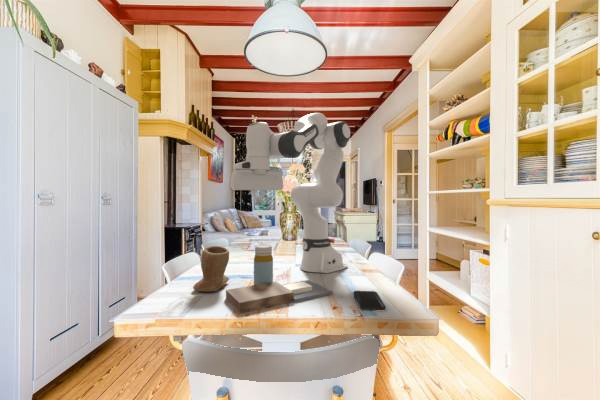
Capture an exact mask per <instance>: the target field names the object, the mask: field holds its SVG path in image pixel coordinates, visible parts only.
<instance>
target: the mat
mask: <svg viewBox="0 0 600 400" xmlns="http://www.w3.org/2000/svg"><path fill="white" fill-rule="evenodd" d="M298 282H299V281H295V282H294V283H298ZM300 282H305V283H307V284H309V285H311V286H312V291H307V292H302V293H297V294H294V301H293V302H294V303H298V302H303V301H308V300H312V299H317V298H323V297H325V296H330V295H333V294H334V291H333V290H331V289H329V288H327V287H326V286H325V287H324V286H323V285H320V284H319V283H316V282H314V281H312V280H310V279H307V280H303V281H302V280H301V281H300ZM292 283H293V282H291V283H290V282H289V284H292ZM287 284H288V283H284V284H283V285H287Z"/></svg>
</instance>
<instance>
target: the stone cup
mask: <svg viewBox="0 0 600 400" xmlns="http://www.w3.org/2000/svg"><path fill="white" fill-rule="evenodd" d="M229 260H230V251H229V249H228V248H226V247H224V246H220V245H219V246H218V245H211V246H207V247H205V248H204V249H203V250H202V253H201V259H200V267H201V272H202V278H201V279H200V280H199V281H198V282H196V283H195V284H194V285H193V287H192V289H194V290H195V291H198V292H216V291H218V290H220V289H221V288H222V287H223V286H225V284H226V283H228V281H229V280H230V278H229V277H228V276H227V275H225V272H226V268H227V267H228V264H229Z"/></svg>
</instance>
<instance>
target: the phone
mask: <svg viewBox="0 0 600 400" xmlns="http://www.w3.org/2000/svg"><path fill="white" fill-rule="evenodd" d="M353 295H354V296H353V297H354V299H355V300H357V301H356V303H358V304H357V305H358V306H357V307H358V309H359V308H360V309H361V311H372V310H385V309H386V305H385V303H384V302H383V301H382V298H381V297H380V295H379V293H378V292H377V291H374V290H354V292H353ZM360 309H359V310H360ZM385 311H386V310H385Z"/></svg>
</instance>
